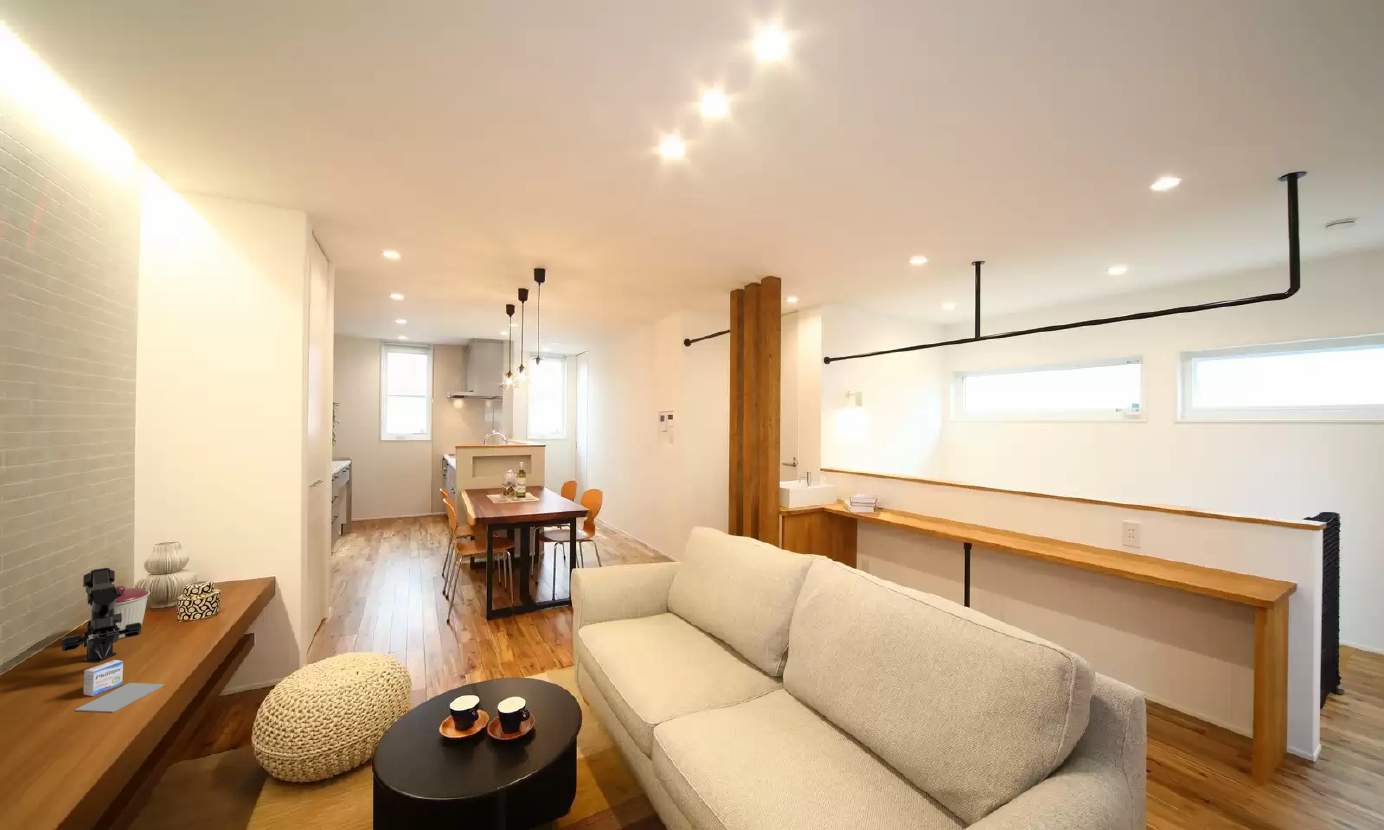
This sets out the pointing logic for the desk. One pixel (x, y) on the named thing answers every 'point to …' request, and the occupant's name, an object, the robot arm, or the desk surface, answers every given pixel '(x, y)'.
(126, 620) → the canister
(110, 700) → the slate mat
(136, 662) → the desk surface
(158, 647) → the desk surface
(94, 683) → the medicine box
